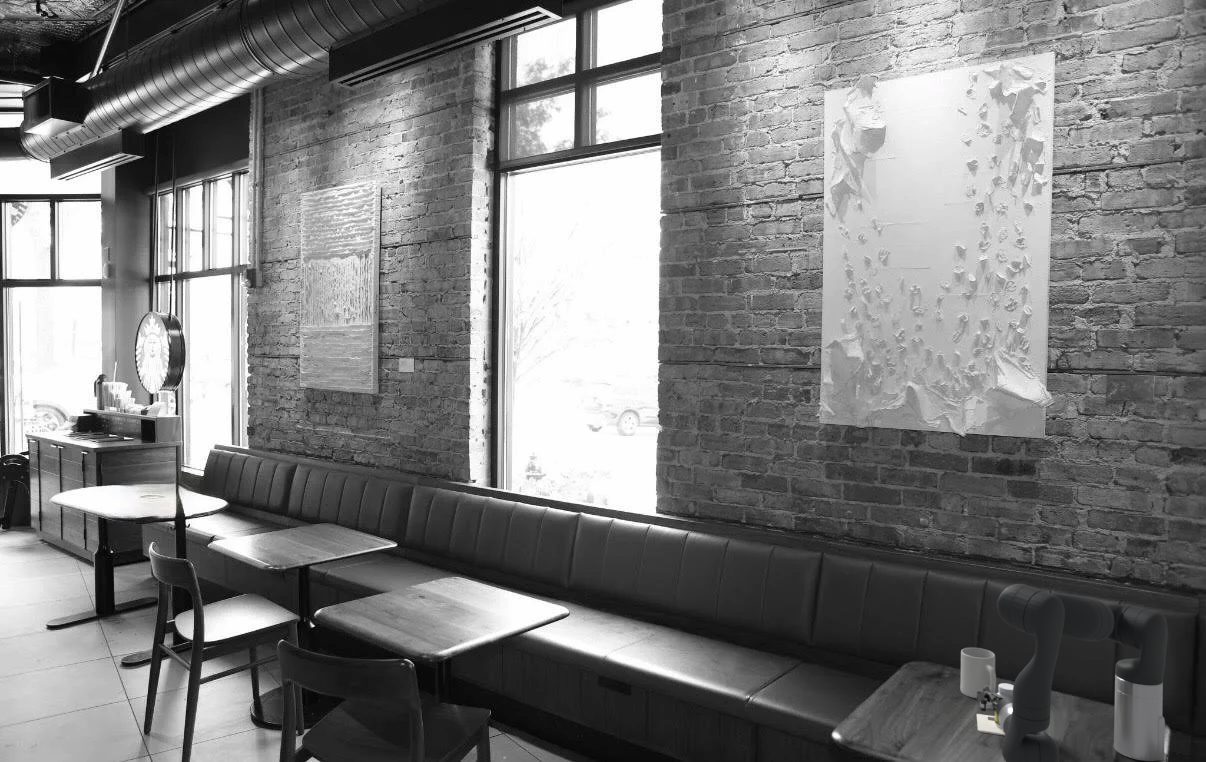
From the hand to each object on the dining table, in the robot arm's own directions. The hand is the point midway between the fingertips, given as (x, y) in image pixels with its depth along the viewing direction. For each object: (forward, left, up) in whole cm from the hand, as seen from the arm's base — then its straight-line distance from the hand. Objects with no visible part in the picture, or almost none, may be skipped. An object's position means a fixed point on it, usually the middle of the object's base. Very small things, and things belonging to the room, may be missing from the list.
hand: (1005, 692), depth 208 cm
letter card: (0, +2, -8) cm, 8 cm away
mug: (+5, -17, -8) cm, 20 cm away
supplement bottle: (0, +2, -8) cm, 8 cm away
